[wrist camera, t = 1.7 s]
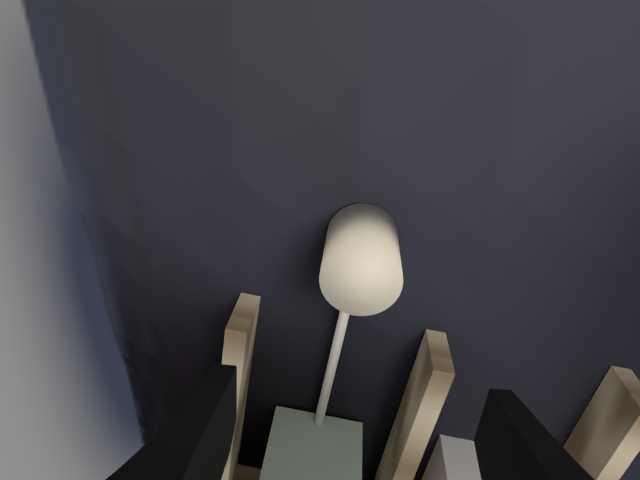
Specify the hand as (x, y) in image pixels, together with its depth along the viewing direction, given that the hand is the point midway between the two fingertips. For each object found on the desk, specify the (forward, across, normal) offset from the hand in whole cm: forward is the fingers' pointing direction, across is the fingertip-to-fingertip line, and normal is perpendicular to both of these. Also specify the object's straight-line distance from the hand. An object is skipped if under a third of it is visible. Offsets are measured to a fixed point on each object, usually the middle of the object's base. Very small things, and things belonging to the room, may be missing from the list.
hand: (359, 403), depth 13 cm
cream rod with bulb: (+10, 0, +6) cm, 12 cm away
